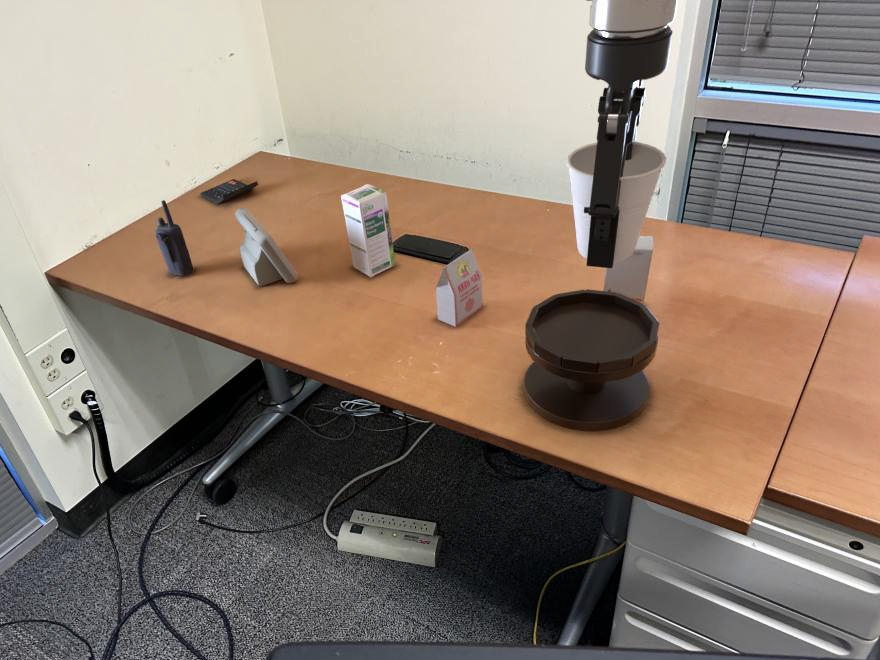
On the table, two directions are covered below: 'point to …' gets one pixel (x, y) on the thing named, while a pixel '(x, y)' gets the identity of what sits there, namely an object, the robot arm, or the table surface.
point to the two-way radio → (173, 245)
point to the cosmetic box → (631, 272)
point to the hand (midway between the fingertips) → (606, 245)
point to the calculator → (227, 191)
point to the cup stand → (589, 359)
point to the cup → (633, 194)
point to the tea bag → (459, 290)
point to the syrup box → (369, 229)
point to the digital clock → (262, 253)
